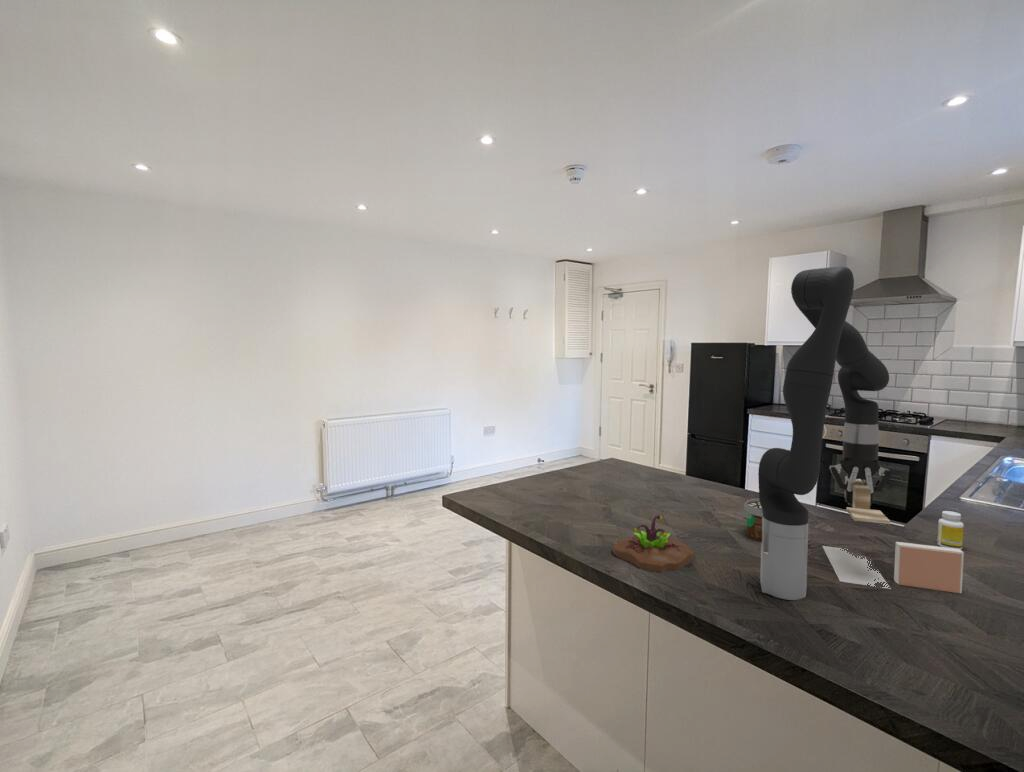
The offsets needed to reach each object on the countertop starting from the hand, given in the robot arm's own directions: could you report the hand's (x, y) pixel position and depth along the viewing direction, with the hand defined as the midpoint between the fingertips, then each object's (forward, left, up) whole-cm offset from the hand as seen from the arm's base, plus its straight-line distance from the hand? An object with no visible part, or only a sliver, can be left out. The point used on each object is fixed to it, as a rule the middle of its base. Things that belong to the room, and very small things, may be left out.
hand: (858, 505), depth 127 cm
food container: (-23, +11, -16) cm, 30 cm away
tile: (+12, -11, -15) cm, 22 cm away
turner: (0, -3, 0) cm, 3 cm away
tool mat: (-1, -4, -15) cm, 16 cm away
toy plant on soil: (-50, -15, -16) cm, 54 cm away
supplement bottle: (+27, +21, -16) cm, 38 cm away
